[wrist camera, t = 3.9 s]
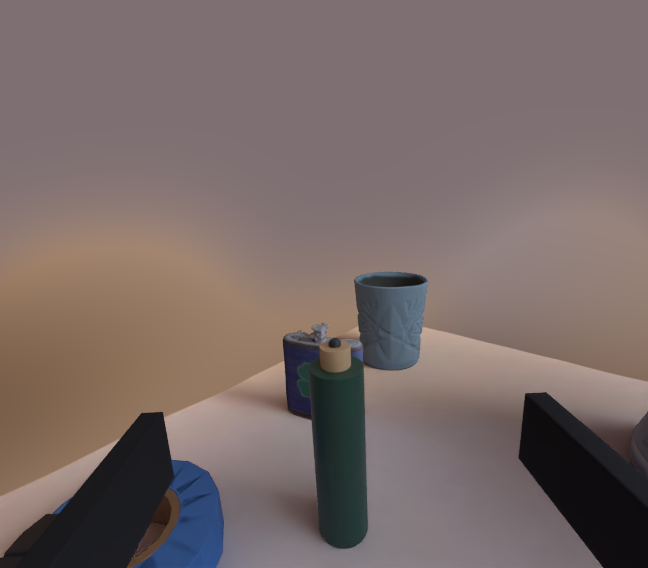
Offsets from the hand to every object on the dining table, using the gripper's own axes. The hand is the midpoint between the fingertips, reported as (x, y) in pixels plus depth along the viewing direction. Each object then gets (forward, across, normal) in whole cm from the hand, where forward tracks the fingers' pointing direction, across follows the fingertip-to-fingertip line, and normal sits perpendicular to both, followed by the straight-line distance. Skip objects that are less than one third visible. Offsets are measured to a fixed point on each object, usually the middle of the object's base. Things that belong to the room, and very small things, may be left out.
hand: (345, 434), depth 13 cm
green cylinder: (+10, 0, -15) cm, 18 cm away
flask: (+24, -1, -15) cm, 28 cm away
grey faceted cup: (+37, +9, -15) cm, 41 cm away
